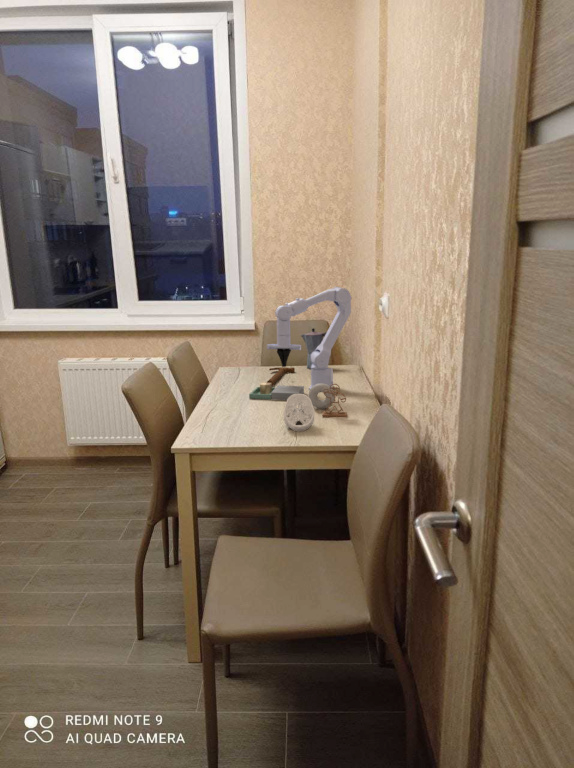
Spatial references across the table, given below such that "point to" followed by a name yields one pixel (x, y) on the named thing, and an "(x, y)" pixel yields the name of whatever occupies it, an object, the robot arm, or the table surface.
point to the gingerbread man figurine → (334, 414)
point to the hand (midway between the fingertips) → (284, 366)
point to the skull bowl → (299, 412)
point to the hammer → (279, 374)
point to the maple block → (265, 388)
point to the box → (256, 394)
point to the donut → (314, 399)
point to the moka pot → (312, 343)
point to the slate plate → (286, 392)
